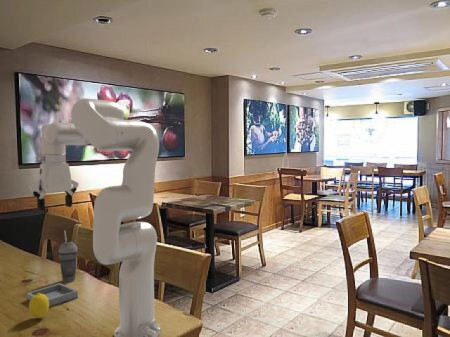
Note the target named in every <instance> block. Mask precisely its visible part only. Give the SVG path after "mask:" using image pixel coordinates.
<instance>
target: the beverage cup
mask: <svg viewBox="0 0 450 337" xmlns="http://www.w3.org/2000/svg"><path fill="white" fill-rule="evenodd" d="M63 232H64V240H65V242H63V243H61V244H60V246H59V247H58V249H57V250H58V252H57V255H58V258H59V264H60V271H61V280H62V283H72V282H74V281H76V271H77V258H78V252H79V251H78V250H79V249H78V246H77V245H76V244H75V243H74V242H73V241H68V238H67V233H66V230H64V231H63Z"/></svg>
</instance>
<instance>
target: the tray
mask: <svg viewBox="0 0 450 337" xmlns="http://www.w3.org/2000/svg"><path fill="white" fill-rule="evenodd" d="M37 293H40V294H44V295H46V296H47V298H48V301H49V308H51V307H54V306H58V305H61V304H64V303H68V302H70V301H73V300H76V299H79V293H78V290H76V289H74V288H72V287H70V286H68V285H65V284H63V283H61V282H60V283H56V284H52V285H49V286H46V287H43V288H40V289H39V288H38V289H36V290H32V291H29V292H26V301H28V302H29V303H30V300H31V298H32V297H33V296H34V295H36V294H37Z"/></svg>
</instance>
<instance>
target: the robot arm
mask: <svg viewBox="0 0 450 337" xmlns="http://www.w3.org/2000/svg"><path fill="white" fill-rule="evenodd" d="M70 118H71V122H59V121H58V122H51V123H46V124H45V123H44V124H42V126H41V129H40V130H41V133H40V134H41V156H38V159H37V161H41V163H40V165H39V169H38V170H39V171H38V179H37V180H38V181H36V182H34V183H33V184H30V185H29V186H28V190H29V191H30V192H31V194H32V196H34V197H35V199H36V200H37V201H36V202H37V203H36V204H37V208H38V210H39V211H45V210H46V206H45V205H46V204H45V201H46V200H45V198H44V197H45V195H46V194H47V193H48V194H50V193H51V194H52V193H53V194H54V193H63V192H64V193H65V199H64V201H65V203H64V204H65V207H68V208H71V207H72V206H73V205H72V204H73V196H74V195H75V192H76V191H77V189H78V188H79V185H80V184H79V182H78V181H75V180H73V179H72V174H71V170H70V165H69V163H68V162H67V160H66V158H67V157H66V154H67V153H66V151H67V150H66V146H86V145H88V144H90V145H91V146H92V147H93V148H95V149H97V150H98V151H101V152H124V151H126V152H128V151H129V152H132V153H131V154H130V155H129V156H128V158H127V160H126V161H125V163H124V166H123V169H122V183H121V184H120V185H111V186H108V187H104V188H102V189H101V190H100V191H99V192H98V193H97V195H96V197H95V200H94V206H93V223H92V224H93V227H92V247H93V248H92V249H93V254H94V257H95V259H96V260H97V262H99V263H100V264H102V265H106V266H107V265H109V266H110V265H114V264H117V263H121V265H120V268H119V272H118V293H119V294H118V296H119V297H118V300H119V301H118V302H119V325H118V326H117V327H116V328H115V330H114V332H113V336H114V337H159V335H160V334H161V333H162V328H161V326H160V324H159V323H158V322H157V318H155V255H156V250H157V244H158V234H157V231H156V229H155V227H154V226H153V225H152V224H151V223H149V222H146V221H132V220H139V219H143V218H145V217H147V216H150V214H151V213H152V212H153V209H154V208H153V207H154V200H155V199H154V198H155V181H156V180H155V178H156V166H157V162H158V156H159V152H160V151H159V150H160V139H159V135H158V133H157V131H156V129H155V128H154V127H153V126H152V125H151V124H150V123H147V122H144V121H141V120H140V121H139V120H135V119H134V120H131V119H124V118H125V111H124V109H123V108H122V107H121V105H120V104H119V103H117V102H115V101H112V100H106V99H96V98H89V97H88V98H87V97H86V98H85V97H84V98H81V99H78V100H76V101H75V103H73V106H72V107H71V111H70ZM36 188H38V191H37V189H36ZM129 221H132V222H129ZM123 222H129V223H123Z"/></svg>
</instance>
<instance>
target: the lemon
mask: <svg viewBox="0 0 450 337" xmlns="http://www.w3.org/2000/svg"><path fill="white" fill-rule="evenodd" d="M49 309H50V307H49V301H48V298H47V296H46V295H44V294H40V293H37V294H36V295H34V296H33V297H32V298H31V300H30V302H29V304H28V311H29V313H30V315H31V316H32V317H34V318H37V319H41V318H42V317H43V316H45V315H46V314H47V313H48V311H49Z"/></svg>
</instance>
